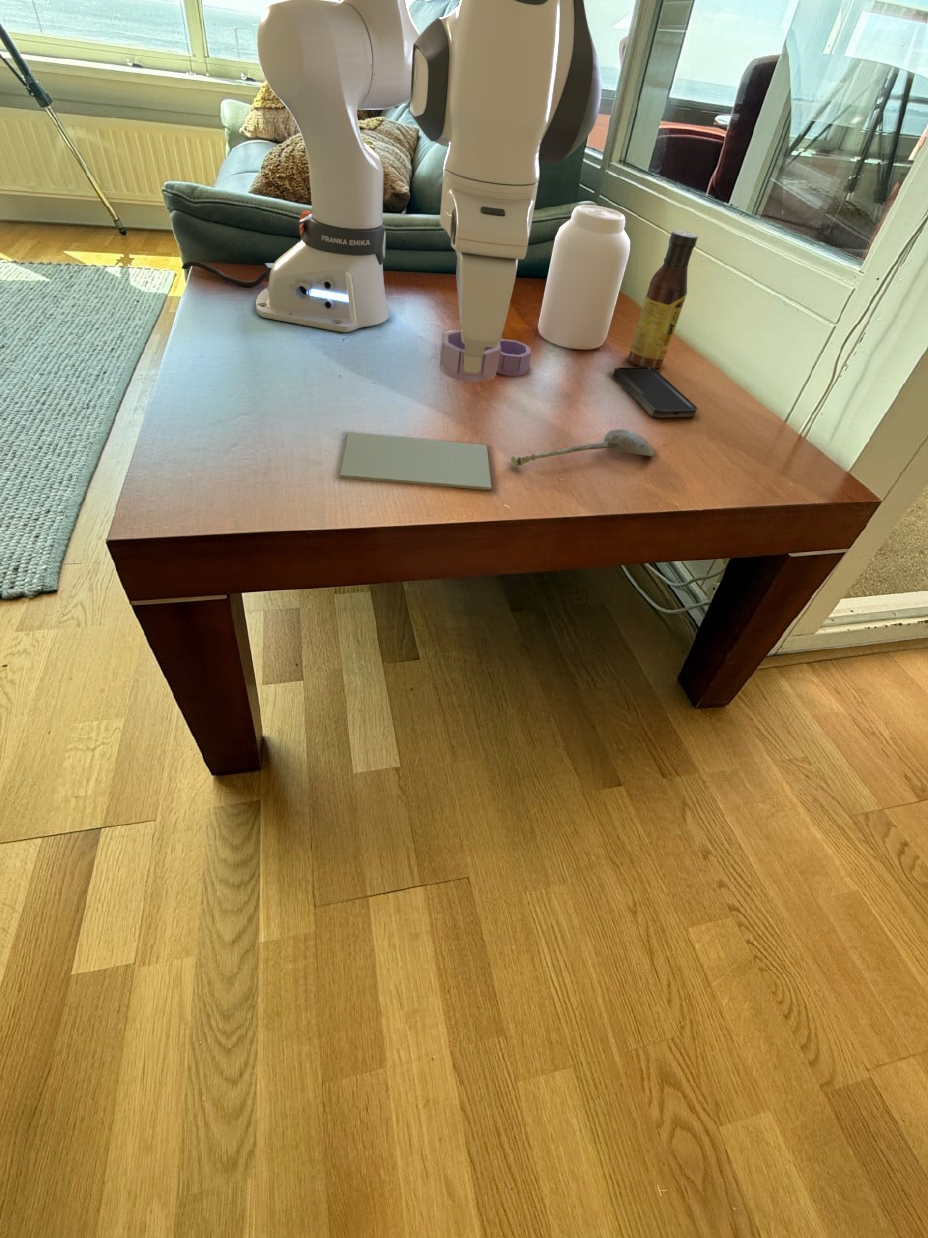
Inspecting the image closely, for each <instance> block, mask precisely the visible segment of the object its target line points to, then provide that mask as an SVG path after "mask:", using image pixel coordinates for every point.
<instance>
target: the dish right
mask: <svg viewBox="0 0 928 1238" xmlns="http://www.w3.org/2000/svg"><path fill="white" fill-rule="evenodd" d="M440 343H441V344H440V354H439V369H440V371H441V372H442V373H443V374H444V375H446V376H447V377H449V378H450V379H453V380H456V381H460V382H464V383H465V382H466V383H485V382H488V381H491V380H493V379H494V378H495V377H496V375H497V373H496V371H497V370H498V366H499V359H500V353H501V346H500V341H499V343H498V345H497V346H496V347H485V350H484V353H483V356H482V361H481V368H480V371H479V372H478V373H470V372H465V371H464V369H463V359H464V350H465V344H464V343H463V342H462V340H461V328H460V329H454V330H450V331H447V332H443V333H442V334H441V342H440Z"/></svg>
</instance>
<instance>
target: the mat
mask: <svg viewBox="0 0 928 1238" xmlns="http://www.w3.org/2000/svg"><path fill="white" fill-rule="evenodd" d="M343 452H344V453H343V459H342V463H341V467H340V473H339V478H341V479H349V480H350V479H351V480H352V479H353V480H362V481H363V480H364V481H374V482H375V481H376V482H388V483H397V484H399V483H400V484H409V485H411V484H412V485H422V486H423V485H424V486H436V487H448V488H458V489H459V488H461V489H472V490H483V491H491V490H492V480H491V472H490V464H489V463H490V462H489V452H488V445H487V444H479V443H468V442H456V441H446V440H435V439H426V438H415V437H402V436H393V435H392V436H391V435H381V434H369V433H361V432H360V433H359V432H347V437H346V443H345V448H344V451H343Z"/></svg>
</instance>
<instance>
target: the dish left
mask: <svg viewBox="0 0 928 1238" xmlns="http://www.w3.org/2000/svg"><path fill="white" fill-rule="evenodd" d="M500 346H501V353H500V359H499V366H498V370H497V371H496V374H499V375H501V376H502V375H503V376H508V377H520V376H523V375H525V374H526V373H527V372H528V369H529V368H530V362H531V358H532V349H531V347H530V346H529V345H528V344H525V343H523V342H521V341H520V340H515V339H506V338H500Z"/></svg>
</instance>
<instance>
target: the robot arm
mask: <svg viewBox="0 0 928 1238" xmlns="http://www.w3.org/2000/svg"><path fill="white" fill-rule="evenodd" d="M259 21H260V22H259V24H258V29H257V34H256V49H257V50H256V51H257V59H258V63H259V67H260V70H261V72H262V75H263V77H264V80H265V81H266V83H267V85H268V87H269V89H270V90H271V92H272V93H273V94H274V95H275V96H276V98H278V99H279V101H281V103H282V104H283V105H284V106H285V107H286V109H287V111H288V112H289V113H290V115H291V116H292V118H293V120H294V122H295V124H296V126H297V129H298V131H299V134H300V136H301V139H302V142H303V145H304V149H305V153H306V158H307V165H308V174H309V186H310V199H311V200H310V201H311V211H310V210H308V209H307V210H306V209H305V210H303V211H302V213H300V216H299V237H300V239H301V240H300V241H298V242H297V243H296V244H295V245H293V246H292V247H291V248H289V249H288V250H287V251H286V252H285V253H283V254H282V255H281V256H280V257H278V258H277V259H276V260H275V261H274V262H265V263H264V271H263V272H262V273H260V275H259V276H258V277H257V279H255V280H252V281H244V280H240V279H237V278H235V277H232V276H228V275H226V274H224V273H223V272H222V271H221V270H219V269H217V268H214V267H212V266H210V265H207V264H205V263H202V262H200V261H197V260H189V261H186V262H185V263H184V264H182V266H181V268H180V269H182V270H187V269H189V268H190V267H196V268H197V267H198V268H199V269H202V270H205V271H207V272H209V273H212V274H215V275H216V276H218V277H219V278H221V280H224V281H225V282H229V283H232V284H234V285H237V286H240V287H244V288H253V287H257V286H259V285H260V284H261V283H262V282H263V281H264V280H266V282H267V283H268V287H266V288H264V289H263V290H261V292H260V293H259V294H258V295H257V297H256V300H255V310H256V313H257V314H258V315H259V316H260V317H262V318H266V319H270V320H274V321H281V322H286V323H291V324H295V325H296V324H297V325H302V326H307V327H312V328H317V329H323V330H328V331H333V332H338V333H350V332H353V331H355V330H358V329H360V328H361V329H362V328H367V327H374V326H377V325H380V324H382V323H384V322H386V321H387V320H388V319H389V318H390V316H391V315H390V310H389V305H388V301H387V296H386V288H385V287H386V286H385V279H384V262H385V258H386V233H387V232H386V224H385V222H384V221H383V216H384V215H383V214H384V211H383V210H384V174H385V173H384V168H383V164H382V161H381V159H380V158H379V156H378V155H377V153H375V152H374V150H373V149H372V148H370V147H369V146H368V145H367V144H366V143H365V141H364V139H363V136H362V134H361V129H360V125H359V120H358V119H359V118H358V110H388V109H391V108H395V107H398V106H401V105H403V104H406V103H409V102H410V104H409V105H410V106H409V108H410V114H411V116H412V118H413V120H414V121H415V122H416V124H417V125H418V127H419V129H420V130H421V131H422V133H423V134H424V135H425V136H426V137H427V139H428V140H429V141H430V142H434V143H435V144H438V145H439V146H443V147H446V148H448V149H447V153H446V156H445V159H444V164H443V174H442V186H441V199H440V211H439V212H440V213H439V226H440V227H441V228H442V229H443V230H444V231H445V232H446V233H447V235H448V236H449V238H450V246H451V248H452V249H453V250H455V251H454V252H455V253H456V257H457V259H456V268H455V269H456V270H455V278H456V279H455V280H456V289H457V301H458V302H457V303H458V313H459V324H460V325H459V326H460V329H461V340H462V342H463V343H464V344H465V350H464V359H463V369H464V371H465V372H470V373H478V372H479V371H480V368H481V361H482V356H483V353H484V350H485V347H496V346H497V345H498V343H499V341H500V339H502V336H503V332H504V329H505V325H506V321H507V316H508V313H509V309H510V304H511V299H512V295H513V291H514V285H515V282H516V277H517V276H516V275H517V270H518V262H519V261H518V260H524V259H526V256H527V252H528V247H529V239H530V235H531V230H532V229H531V228H532V223H533V218H534V211H535V207H536V206H535V205H536V200H537V195H538V187H539V181H540V165H539V161H543V162H546V163H552V164H558V163H561V162H562V161H564V160H565V159H567V158H568V157H569V156H570V155H572V154H573V153H574V152H575V151H576V150H577V149H578V148H579V147H580V146H581V145H582V144H583V143H584V141H585V140H586V139H587V138H588V136H589V135H590V134H591V132H592V131H593V129H594V127H595V125H596V122H597V120H598V115H599V112H600V107H601V102H602V85H603V84H602V83H603V82H602V72H601V66H600V62H599V58H598V54H597V51H596V48H595V43H594V41H593V38H592V35H591V31H590V28H589V23H588V18H587V13H586V6H585V1H584V0H460V1H459V4H458V5H457V6H456V7H455V9H454V10H452V11H451V12H450V13H448V14H447V15H445V16H442V17H439V16H436V18H435V19H433V20H432V21H431V22H430V23H429V24H428V25H427V26H426V27H425V28H424V29H423V31H422V32H421V33H420V32H419V30H418V29H417V26H416V25H415V24H414V22H413V19H412V17H411V14H410V11H409V7H408V2H407V0H338V1H331V0H330V1H329V0H283V1H280V2H276V3H272V4H271V5H269V6H268V7H266V9H265V10H264V12H263V14H262V15H261V18H260V20H259Z"/></svg>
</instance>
